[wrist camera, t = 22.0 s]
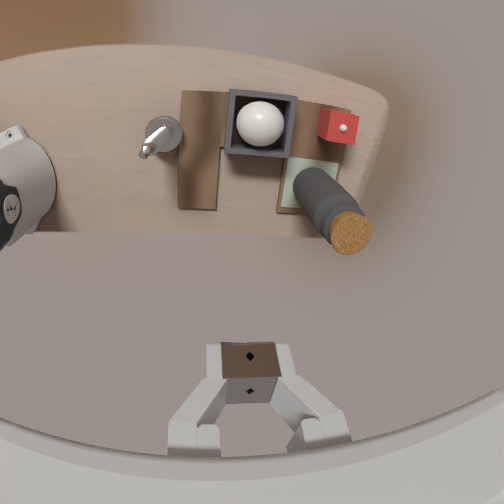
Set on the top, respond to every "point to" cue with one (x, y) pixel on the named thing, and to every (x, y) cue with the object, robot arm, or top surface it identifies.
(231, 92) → the dome collar
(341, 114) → the red die
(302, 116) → the game board
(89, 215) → the top surface
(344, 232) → the bottle
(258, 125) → the dome cap
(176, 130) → the screw
